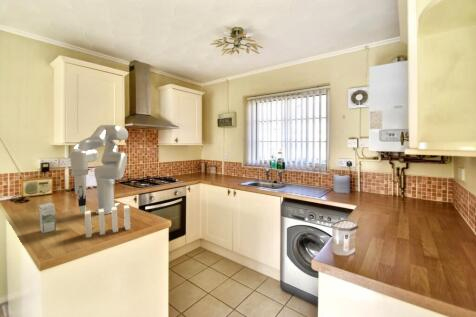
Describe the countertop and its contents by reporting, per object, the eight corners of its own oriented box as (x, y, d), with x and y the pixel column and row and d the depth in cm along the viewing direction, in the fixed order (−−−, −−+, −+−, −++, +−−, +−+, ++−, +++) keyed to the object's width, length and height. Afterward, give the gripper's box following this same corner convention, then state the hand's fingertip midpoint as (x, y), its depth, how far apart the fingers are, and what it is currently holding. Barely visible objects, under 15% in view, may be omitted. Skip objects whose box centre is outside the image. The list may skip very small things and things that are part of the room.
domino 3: (117, 227, 128) (116, 206, 127) (118, 231, 123) (117, 209, 122) (112, 228, 126) (111, 207, 125) (113, 232, 121) (111, 210, 120)
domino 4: (129, 225, 131) (128, 205, 130) (130, 229, 126) (129, 207, 125) (124, 226, 130) (123, 205, 129) (125, 230, 125) (124, 208, 124)
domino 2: (104, 230, 125) (103, 208, 124) (105, 233, 120) (104, 211, 118) (99, 231, 123) (98, 209, 122) (99, 235, 118) (98, 212, 117)
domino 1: (91, 232, 121) (90, 210, 120) (91, 236, 116) (90, 213, 115) (86, 233, 120) (84, 211, 119) (85, 237, 115) (84, 214, 114)
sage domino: (85, 209, 133) (84, 188, 131) (85, 212, 128) (83, 191, 126) (80, 209, 131) (79, 189, 130) (80, 213, 126) (78, 191, 125)
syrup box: (53, 227, 128) (51, 202, 126) (56, 230, 124) (54, 204, 123) (40, 231, 123) (38, 204, 122) (42, 234, 119) (40, 206, 118)
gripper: (72, 170, 132) (75, 201, 134) (70, 175, 118) (73, 209, 120) (88, 169, 136) (90, 199, 138) (87, 174, 122) (90, 207, 124)
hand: (82, 203), depth 129 cm, fingers closed on sage domino, 5 cm apart
